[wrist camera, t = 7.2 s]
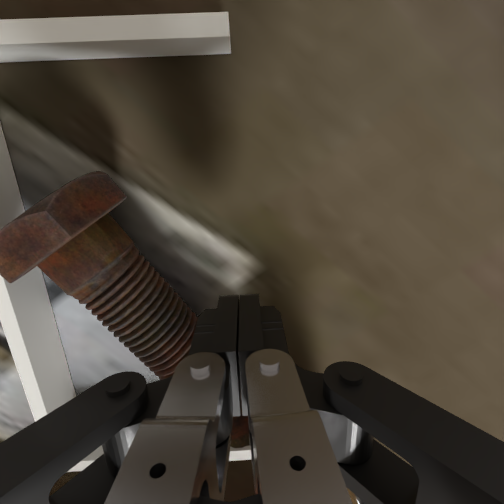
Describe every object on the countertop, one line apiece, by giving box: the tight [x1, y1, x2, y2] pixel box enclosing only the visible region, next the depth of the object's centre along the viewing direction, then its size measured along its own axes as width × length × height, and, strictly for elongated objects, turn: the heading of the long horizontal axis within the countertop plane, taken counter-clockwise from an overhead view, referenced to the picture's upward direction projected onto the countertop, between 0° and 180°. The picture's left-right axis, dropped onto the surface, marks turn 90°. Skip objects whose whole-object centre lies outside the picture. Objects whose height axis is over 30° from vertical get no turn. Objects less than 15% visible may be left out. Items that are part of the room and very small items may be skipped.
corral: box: [0, 12, 251, 472], centre depth 15 cm, size 11×20×2 cm, turn 2°
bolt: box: [0, 171, 250, 448], centre depth 15 cm, size 6×5×15 cm
